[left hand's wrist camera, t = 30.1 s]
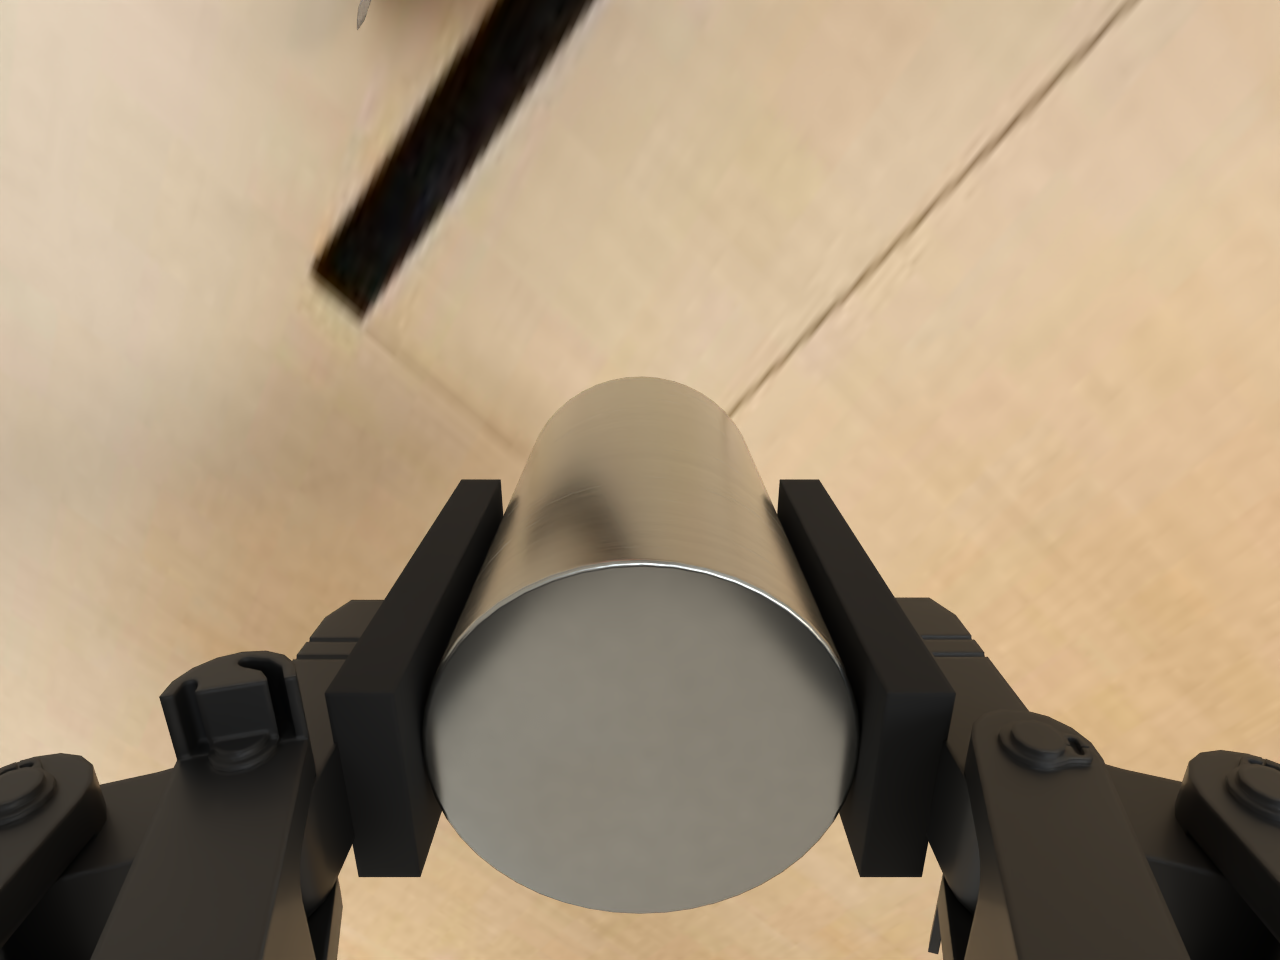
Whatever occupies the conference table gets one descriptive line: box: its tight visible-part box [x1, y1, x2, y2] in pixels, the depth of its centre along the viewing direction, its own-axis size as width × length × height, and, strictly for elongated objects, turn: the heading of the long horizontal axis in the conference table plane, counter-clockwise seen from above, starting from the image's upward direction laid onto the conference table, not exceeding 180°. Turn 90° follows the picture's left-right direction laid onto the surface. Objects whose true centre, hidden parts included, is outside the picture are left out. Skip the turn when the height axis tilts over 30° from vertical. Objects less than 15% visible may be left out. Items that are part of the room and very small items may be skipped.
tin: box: [422, 377, 861, 914], centre depth 13 cm, size 5×5×9 cm
